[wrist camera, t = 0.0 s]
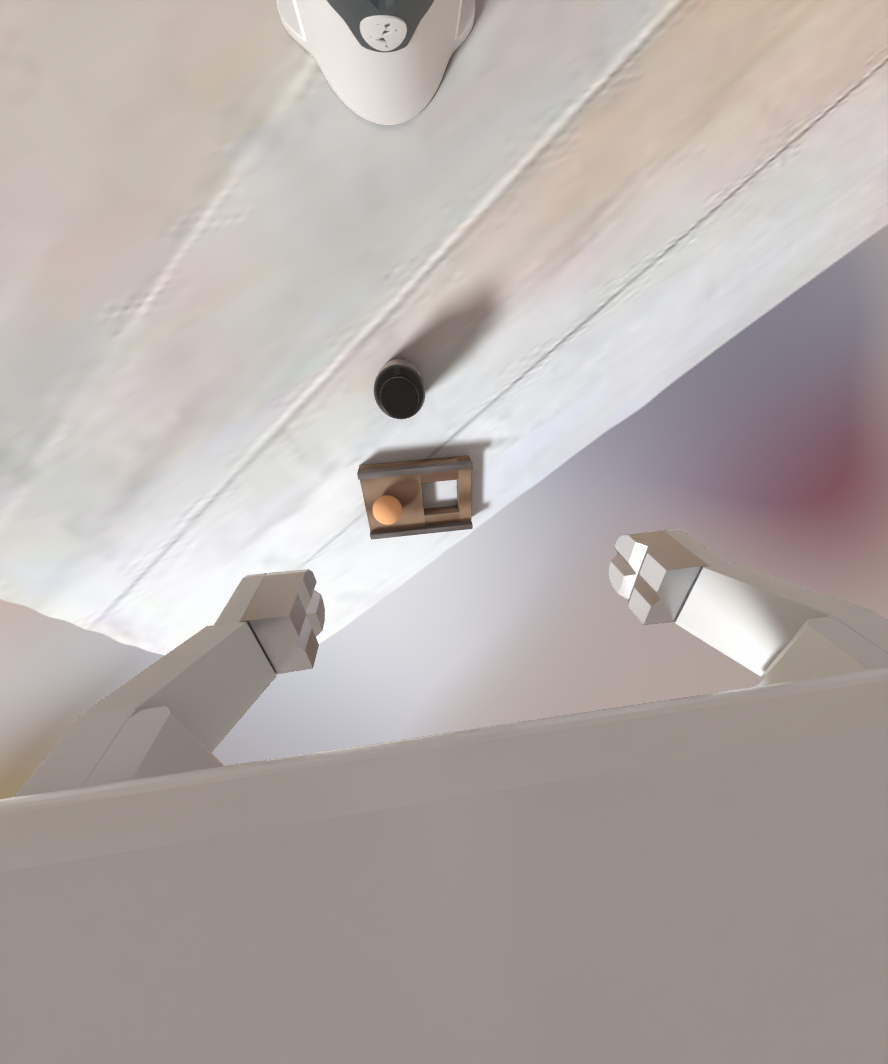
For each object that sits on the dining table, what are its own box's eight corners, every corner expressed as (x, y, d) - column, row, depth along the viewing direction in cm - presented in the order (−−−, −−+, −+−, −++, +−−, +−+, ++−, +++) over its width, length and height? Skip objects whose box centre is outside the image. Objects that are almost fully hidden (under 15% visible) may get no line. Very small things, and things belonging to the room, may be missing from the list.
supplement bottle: (414, 351, 48) (418, 359, 38) (427, 398, 52) (434, 417, 42) (370, 365, 48) (362, 377, 38) (386, 411, 52) (383, 433, 42)
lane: (359, 465, 56) (357, 473, 53) (468, 455, 57) (472, 463, 54) (372, 528, 63) (371, 539, 60) (468, 518, 65) (472, 528, 62)
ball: (371, 491, 56) (369, 505, 52) (400, 489, 57) (400, 502, 53) (376, 516, 59) (374, 531, 55) (403, 513, 59) (403, 528, 55)
